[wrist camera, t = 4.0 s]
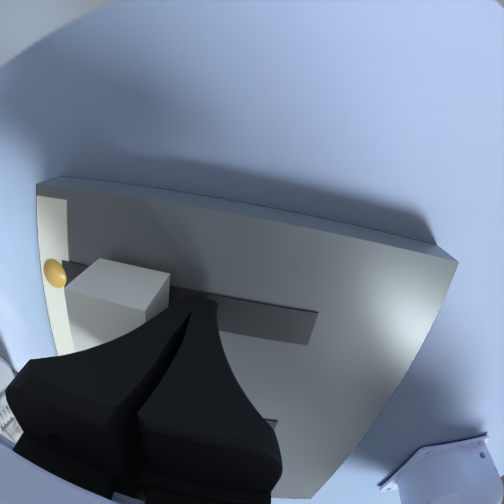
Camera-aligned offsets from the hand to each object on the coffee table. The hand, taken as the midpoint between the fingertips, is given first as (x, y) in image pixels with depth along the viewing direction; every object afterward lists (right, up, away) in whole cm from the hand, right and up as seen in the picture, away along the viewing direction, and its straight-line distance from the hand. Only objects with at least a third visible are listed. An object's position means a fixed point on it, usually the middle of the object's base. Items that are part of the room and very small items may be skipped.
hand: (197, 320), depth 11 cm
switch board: (0, -5, +5) cm, 7 cm away
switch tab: (-3, +1, 0) cm, 3 cm away
